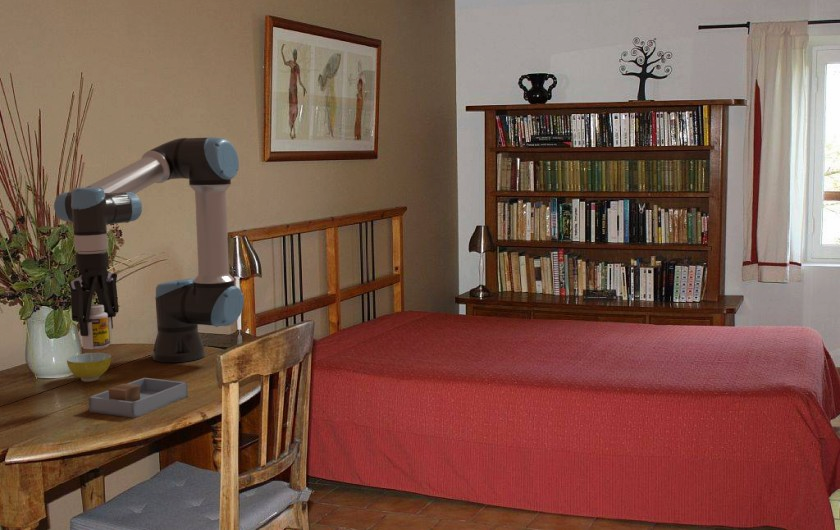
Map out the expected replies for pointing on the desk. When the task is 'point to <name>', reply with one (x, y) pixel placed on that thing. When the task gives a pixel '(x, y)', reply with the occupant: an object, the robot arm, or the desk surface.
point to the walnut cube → (125, 392)
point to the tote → (151, 398)
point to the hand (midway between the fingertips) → (97, 345)
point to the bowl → (89, 365)
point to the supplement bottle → (99, 326)
